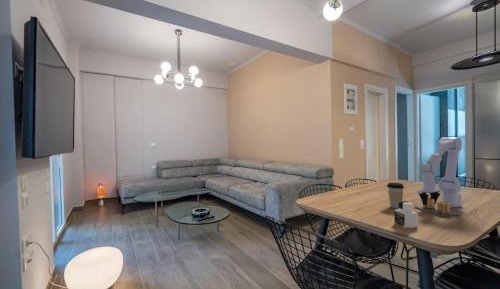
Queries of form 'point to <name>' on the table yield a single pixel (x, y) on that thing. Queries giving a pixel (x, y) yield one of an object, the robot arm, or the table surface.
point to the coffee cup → (395, 194)
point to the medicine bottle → (406, 215)
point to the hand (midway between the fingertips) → (429, 204)
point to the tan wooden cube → (430, 203)
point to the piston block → (440, 209)
